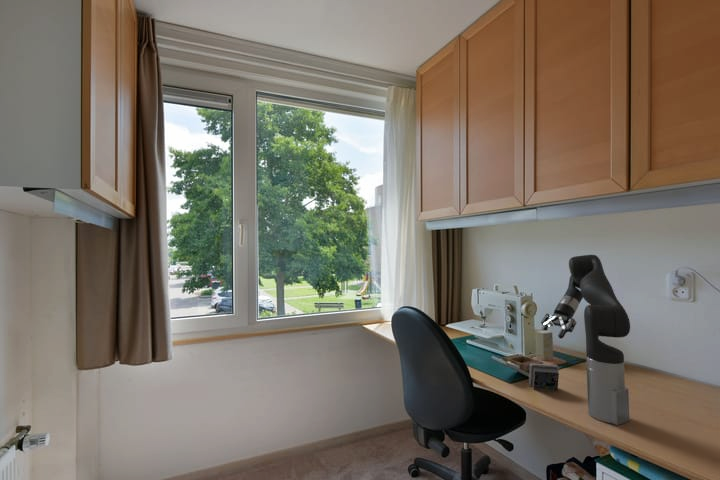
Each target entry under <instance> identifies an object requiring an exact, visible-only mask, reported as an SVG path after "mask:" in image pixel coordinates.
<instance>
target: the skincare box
mask: <svg viewBox="0 0 720 480" xmlns="http://www.w3.org/2000/svg"><path fill="white" fill-rule="evenodd" d="M534 335H535V336H534V337H535V355H536V358H537V359H540V360H543V361H546V360H552V359H553V357H554V346H553V345H554V344H553V343H554V341H553V339H554V338H553V331H548V330H547V331H545V330H542V331H541V330H537V331H535V332H534Z"/></svg>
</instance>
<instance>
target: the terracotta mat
mask: <svg viewBox="0 0 720 480" xmlns="http://www.w3.org/2000/svg"><path fill="white" fill-rule="evenodd" d="M532 359H535V360H538V361H541V362H543V364H550V365H557V366H558V365H563V364H567V360H565V359H561V358H558V357H555V356H553V359H552V360H546V361H543V360H540V359H537V358H536V357H533V358H532Z"/></svg>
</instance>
